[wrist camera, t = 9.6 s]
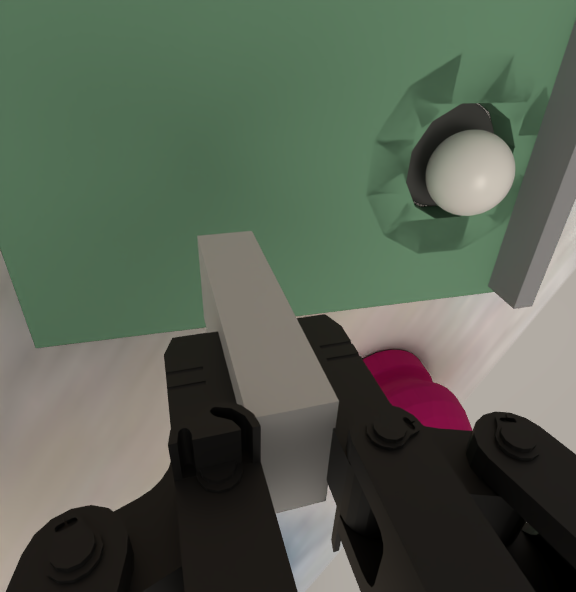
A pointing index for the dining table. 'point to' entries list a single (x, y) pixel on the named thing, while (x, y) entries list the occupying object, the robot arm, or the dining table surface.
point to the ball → (470, 172)
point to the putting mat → (273, 151)
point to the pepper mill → (416, 390)
